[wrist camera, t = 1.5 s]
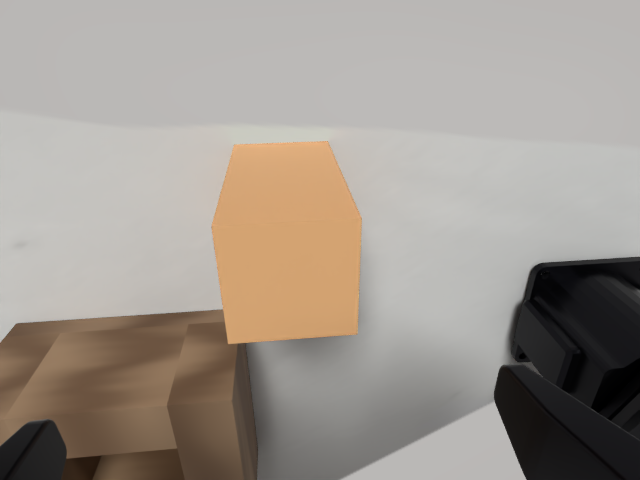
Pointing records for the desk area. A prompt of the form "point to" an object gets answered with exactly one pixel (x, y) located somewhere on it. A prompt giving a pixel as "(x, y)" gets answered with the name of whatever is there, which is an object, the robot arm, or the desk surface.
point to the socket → (135, 395)
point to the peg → (287, 244)
